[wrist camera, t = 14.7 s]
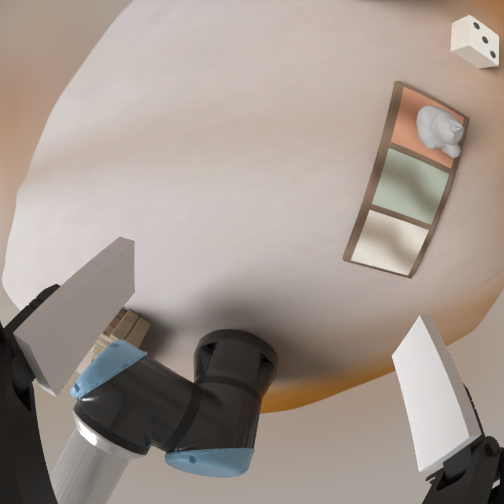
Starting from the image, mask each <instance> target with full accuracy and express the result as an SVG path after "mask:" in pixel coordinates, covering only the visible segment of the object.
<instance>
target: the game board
mask: <svg viewBox="0 0 504 504" xmlns="http://www.w3.org/2000/svg"><path fill="white" fill-rule="evenodd" d="M426 105H429V106H434V107H438V108H440V109H444V110H446V111H448V112H450V113H451V114H452V115H453V116H454V117H455V118H457V119H458V120H459V121H460V123H461V125H462V126H463V128H464V132H463V136H462V138H461V140H460V141H459V142H458V143H457V144H458V146H459V147H460V150H462V146H463V142H464V138H465V134H466V129H467V125H468V120H469V118H468V117H466V116H464V115H463V114H461V113H459V112H458V111H456V110H454V109H453V108H451V107H449V106H447V105H446V104H444V103H442V102H440V101H438V100H436V99H434V98H433V97H431V96H429V95H427V94H425V93H423V92H421V91H419V90H416V89H414V88H412V87H410V86H408V85H406V84H403V83H401V82H399V81H396V82H395V83H394V88H393V93H392V98H391V102H390V106H389V111H388V115H387V119H386V123H385V127H384V131H383V135H382V139H381V142H380V146H379V150H378V153H377V157H376V160H375V164H374V167H373V170H372V174H371V177H370V180H369V183H368V187H367V190H366V193H365V196H364V199H363V202H362V205H361V208H360V211H359V214H358V217H357V220H356V222H355V225H354V228H353V231H352V234H351V236H350V239H349V242H348V244H347V247H346V250H345V252H344V255H343V260H344V261H346V262H350V263H354V264H358V265H362V266H365V267H369V268H373V269H377V270H381V271H384V272H388V273H392V274H396V275H399V276H403V277H407V278H412V276H413V275H414V273H415V271H416V269H417V266H418V264H419V262H420V260H421V258H422V256H423V254H424V252H425V250H426V247H427V245H428V243H429V241H430V238H431V236H432V234H433V231H434V229H435V227H436V224H437V222H438V219H439V217H440V214H441V211H442V209H443V206H444V203H445V201H446V198H447V195H448V192H449V189H450V186H451V183H452V180H453V177H454V174H455V171H456V167H457V164H458V161H459V157H460V155H459V156H458V157H456V158H453V157H451V156H449V155H448V154H447V153H444V152H443V151H442V150H441V148H439V149H428V148H426V147H425V146H424V144H423V143H422V141H421V140H420V138H419V136H418V131H417V125H416V120H417V114H418V112H419V110H420V109H421V108H422V107H424V106H426ZM460 154H461V152H460Z"/></svg>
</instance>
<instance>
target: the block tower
mask: <svg viewBox="0 0 504 504" xmlns="http://www.w3.org/2000/svg"><path fill="white" fill-rule="evenodd" d="M151 325H152V324H151V323H150V322H149V321H147V320H145V319H144V318H142V317H140V316H139V315H138V314H136V313H135V312H133V311H132V310H130V309H129V310H128V311H127V313H126V312H125V311H124V310H122V309H121V310H120V311H119V312H118V314H117V315H116V316H115V317H114V319H113V320H112V321H111V323H110V324H109V325H108V326H107V328H106V329H105V330H104V332H103V333H102V334H101V336H100V337H99V338H98V340H97V341H96V343H95V347H94V352H93V357H92V359H93V360H94V359H95V358H96V357H97V356H98V355H99V354H100V353H101V352H102V351H103V350H104V349H105V348H106V347H107V346H108V345H109V344H110V343H112V342H113V341H115V340H125V341H127V342H129V343H130V344H132V345H133V346H135V347H136V348H139V346H140V345H141V343H142V341H143V339H144V337H145V335H146V333H147V331H148V330H149V328H150V326H151ZM93 360H92V361H93ZM92 361H91V363H92Z"/></svg>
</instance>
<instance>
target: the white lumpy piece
mask: <svg viewBox="0 0 504 504" xmlns="http://www.w3.org/2000/svg"><path fill="white" fill-rule="evenodd" d="M416 125H417V131H418V136H419V138H420V140H421V141H422V143H423V144H424V146H425V147H426V148H428V149H439V148H441V150H442V151H443V152H444V153H447V154H448V155H449V156H451V157H453V158H456V157H458V156H459V155H460V152H461V150H460V147H459V146H458V144H457V143H458V142H459V141H460V140H461V138H462V136H463V132H464V128H463V126H462V125H461V123H460V121H459V120H458V119H457V118H455V117H454V116H453V115H452V114H451V113H450V112H448V111H446V110H444V109H440V108H438V107H434V106H429V105H426V106H424V107H422V108H421V109H420V110H419V112H418V114H417V120H416Z"/></svg>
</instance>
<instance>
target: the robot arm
mask: <svg viewBox="0 0 504 504" xmlns="http://www.w3.org/2000/svg"><path fill="white" fill-rule="evenodd" d="M134 292H135V287H134V241H132V240H129V239H126V238H122V237H119V238H118V239H116V240H115V241H114V242H113V243H111V244H110V245H109V246H108V247H106V248H105V249H104V250H103V251H101V252H100V253H99V254H98V255H97V256H95V257H94V258H93V259H92V260H90V261H89V262H88V263H87V264H86V265H85V266H83V267H82V268H81V269H80V270H79V271H77V272H76V273H75V274H74V275H73V276H72V277H71V278H69V279H68V280H67V281H66V282H65V283H64V284H63V285H62V286H60V285H58V284H55V285H53V286H51V287H48V288H46V289H44V290H43V291H42V292H41V293H40V294H39V295H38V296H37V297H36V299H33V300H32V301H31V302H30V303H29V305H27V306H26V307H25V308H24V309H23V310H22V311H21V312H20V313H19V314H18V315H17V316H16V317H15V318H14V319H13V320H12V321H11V322H10V323H9V324H8V325H7V326H6V327H5V328H3V327H2V324H1V322H0V504H106V503H107V501H108V499H109V497H110V496H111V494H112V492H113V490H114V488H115V486H116V485H117V483H118V481H119V479H120V478H121V476H122V474H123V472H124V470H125V469H126V467H127V465H128V463H129V461H130V460H131V459H134V458H139V457H144V456H146V454H147V452H148V451H149V449H150V447H151V446H154V447H157V448H159V449H161V450H163V451H165V452H166V454H165V461H166V463H167V464H168V465H170V466H172V467H174V468H176V469H178V470H181V471H185V472H188V473H192V474H197V475H202V476H209V477H236V476H239V475H242V474H244V473H245V472H246V471H247V470H248V468H249V465H250V462H251V459H252V455H253V453H254V444H255V438H256V432H257V427H258V421H259V415H260V409H261V402H262V398H263V397H264V395H265V393H266V392H267V390H268V388H269V387H270V385H271V383H272V382H273V380H274V378H275V376H276V371H277V363H278V361H277V357H276V354H275V352H274V351H273V349H272V348H271V347H270V346H269V345H268V344H267V343H265V342H264V341H263V340H261V339H259V338H257V337H255V336H253V335H251V334H248V333H244V332H240V331H233V330H221V331H215V332H212V333H209V334H207V335H206V336H204V337H203V338H202V339H201V340H200V341H199V343H198V345H197V348H196V350H195V353H194V383H192V382H191V381H189V380H187V379H186V378H184V377H182V376H180V375H179V374H177V373H175V372H174V371H172V370H170V369H169V368H167V367H166V366H164V365H162V364H161V363H159V362H158V361H156V360H155V359H153V358H152V357H150V356H149V355H147V354H148V353H147V352H143V351H141V350H140V349H138V348H136V347H135V346H133V345H132V344H130V343H129V342H127V341H125V340H115V341H113V342H112V343H110V344H109V345H108V346H107V347H106V348H105V349H104V350H103V351H102V352H101V353H100V354H99V355H98V356H97V357H96V358H95V359H94V360H93V361H92V363H91V364H90V365H89V366H88V367H87V368H86V370H85V371H84V372H83V373H82V375H81V376H80V377H79V379H78V380H77V382H76V383H75V385H74V386H73V387H72V389H71V394H72V395H73V398H74V399H77V400H78V401H77V403H76V405H75V406H74V408H73V410H72V411H73V415H74V418H75V421H76V427H75V429H74V431H73V433H72V435H71V437H70V438H69V441H68V442H67V444H66V446H65V448H64V450H63V452H62V454H61V455H60V458H59V459H58V461H57V463H56V465H55V467H54V469H53V471H52V473H51V475H50V477H49V474H48V470H47V466H46V462H45V459H44V454H43V449H42V445H41V440H40V434H39V429H38V422H37V416H36V408H35V398H34V388H33V385H32V382H33V380H34V379H35V378H36V379H37V381H38V383H39V384H40V386H41V387H42V388H43V389H45V390H46V391H48V392H49V393H51V394H52V395H54V396H55V397H57V396H58V394H59V393H60V391H61V390H62V388H63V387H64V385H65V384H66V383H67V381H68V380H69V378H70V377H71V375H72V374H73V373H74V371H75V370H76V368H77V367H78V365H79V364H80V363H81V361H82V360H83V359H84V357H85V356H86V354H87V353H88V352H89V350H90V349H91V348H92V346H93V345H94V344H95V342H96V341H97V340H98V338H99V337H100V336H101V334H102V333H103V332H104V330H105V329H106V328H107V326H108V325H109V324H110V323H111V321H112V320H113V319H114V317H115V316H116V315H117V314H118V312H119V311H120V310H121V309H122V307H123V306H124V305H125V304H126V302H127V301H128V300H129V299H130V297H131V296H132V295H133V294H134ZM392 359H393V362H394V365H395V369H396V372H397V375H398V379H399V382H400V386H401V390H402V393H403V397H404V401H405V405H406V409H407V414H408V417H409V422H410V427H411V432H412V436H413V441H414V446H415V452H416V457H417V463H418V470H419V472H420V471H426V470H430V469H433V468H435V467H437V466H438V465H440V464H441V463H443V466H444V467H443V468H442V469H440V470H438V471H436V472H435V473H433V474H431V475H430V476H428V477H427V478H426V481H428V480H430V479H431V478H433V477H435V479H433V480H431V481H430V484H432V486H431V488H430V490H429V492H428V493H427V496H426V497H425V499H424V501H423V503H422V504H504V448H502V447H499V444H498V442H497V441H496V440H495V438H493V437H491V436H487V437H485V434H484V432H483V428H482V425H481V423H480V420H479V417H478V414H477V411H476V409H474V407H475V406H474V404H473V401H471V400H472V398H471V396H470V393H469V391H468V389H467V388H466V386H465V385H464V384H463V383H462V380H461V378H460V376H459V373H458V371H457V369H456V367H455V365H454V362H453V360H452V358H451V356H450V354H449V352H448V350H447V348H446V346H445V344H444V342H443V340H442V338H441V336H440V334H439V332H438V330H437V328H436V326H435V324H434V322H433V321H432V319H431V318H430V317H425V316H421V315H419V317H418V319H417V320H416V322H415V323H414V325H413V326H412V328H411V329H410V331H409V332H408V334H407V335H406V337H405V338H404V340H403V341H402V343H401V344H400V345H399V347H398V348H397V350H396V351H395V352H394V354H393V355H392ZM499 479H500V484H499V485H498V486H496V487H495V488H493V489H492V486H493V483H494V482H496V481H497V480H499Z"/></svg>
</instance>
